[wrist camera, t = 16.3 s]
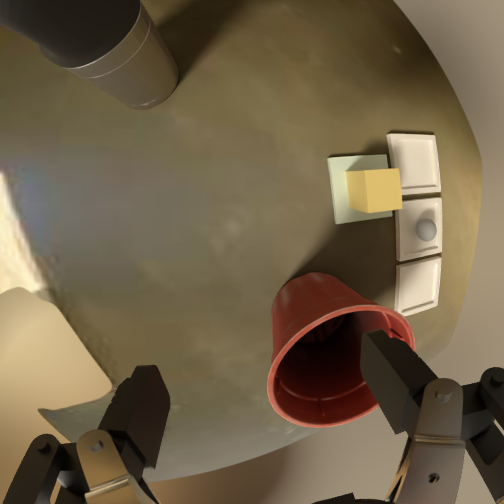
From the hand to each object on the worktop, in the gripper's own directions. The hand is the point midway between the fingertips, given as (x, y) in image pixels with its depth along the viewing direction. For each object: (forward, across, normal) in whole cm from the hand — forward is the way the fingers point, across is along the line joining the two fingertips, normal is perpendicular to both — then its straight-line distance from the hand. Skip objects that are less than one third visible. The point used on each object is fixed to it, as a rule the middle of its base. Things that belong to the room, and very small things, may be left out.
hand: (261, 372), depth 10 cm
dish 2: (+28, -27, +3) cm, 39 cm away
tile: (+28, -17, -4) cm, 33 cm away
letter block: (+27, -17, -4) cm, 32 cm away
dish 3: (+28, -27, +13) cm, 41 cm away
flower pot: (+28, -8, +13) cm, 32 cm away
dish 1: (+28, -27, -7) cm, 40 cm away
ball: (+28, -27, +3) cm, 39 cm away
